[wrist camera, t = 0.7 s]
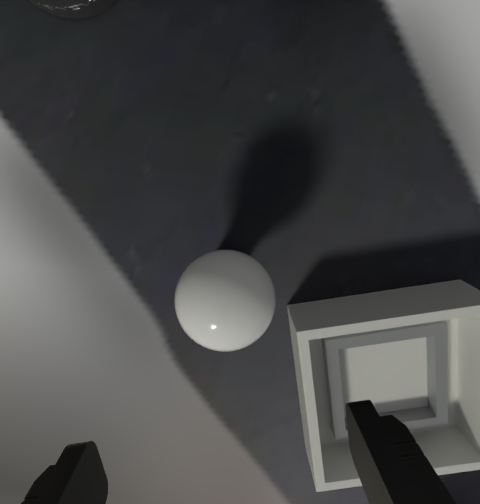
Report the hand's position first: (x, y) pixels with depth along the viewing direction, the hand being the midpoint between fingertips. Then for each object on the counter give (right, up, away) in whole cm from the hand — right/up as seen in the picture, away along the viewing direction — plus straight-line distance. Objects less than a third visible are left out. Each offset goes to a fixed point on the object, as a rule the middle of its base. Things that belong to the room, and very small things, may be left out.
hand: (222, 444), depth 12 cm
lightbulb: (0, +5, +19) cm, 20 cm away
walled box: (+13, -5, +22) cm, 26 cm away
